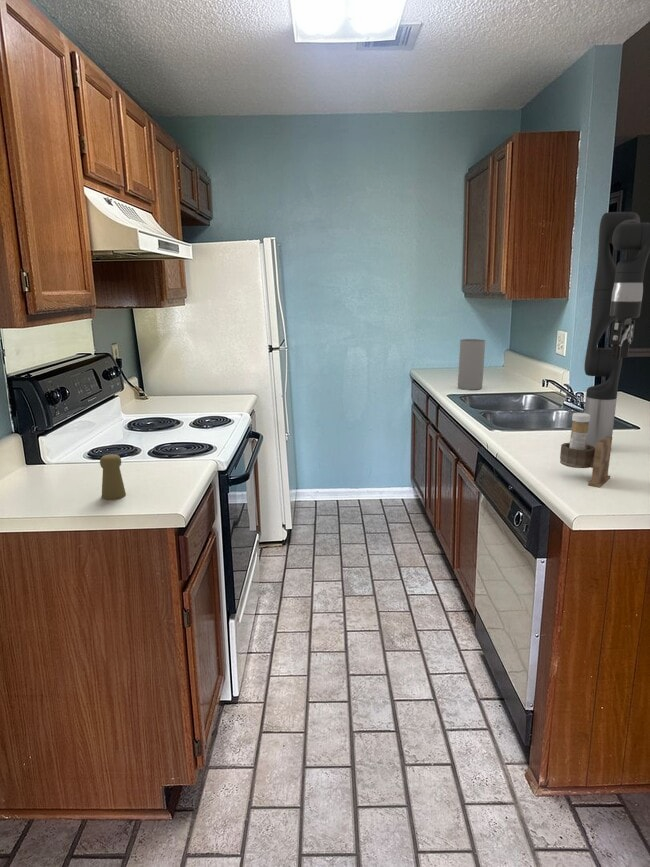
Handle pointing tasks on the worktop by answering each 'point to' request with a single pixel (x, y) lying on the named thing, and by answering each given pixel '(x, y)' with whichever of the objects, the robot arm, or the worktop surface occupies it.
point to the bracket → (590, 459)
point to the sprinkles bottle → (579, 431)
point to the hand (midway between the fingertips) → (619, 358)
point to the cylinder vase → (471, 364)
